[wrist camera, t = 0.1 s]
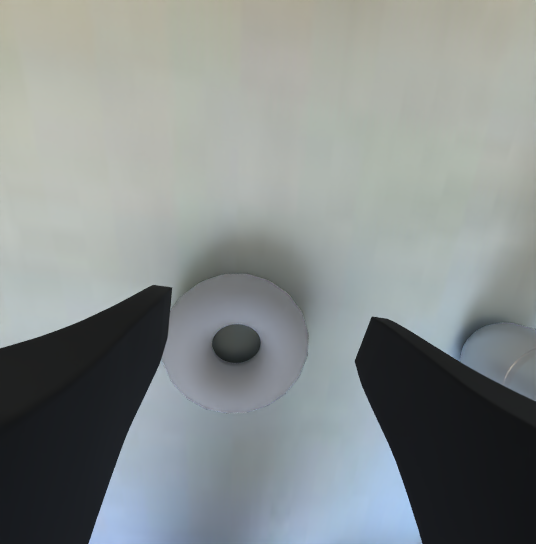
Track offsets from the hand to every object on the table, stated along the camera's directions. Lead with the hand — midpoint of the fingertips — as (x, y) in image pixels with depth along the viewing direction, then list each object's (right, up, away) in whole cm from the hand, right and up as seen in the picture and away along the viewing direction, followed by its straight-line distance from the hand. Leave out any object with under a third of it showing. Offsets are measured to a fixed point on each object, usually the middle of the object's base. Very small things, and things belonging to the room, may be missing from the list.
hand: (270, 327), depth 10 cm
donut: (-2, -3, +11) cm, 12 cm away
